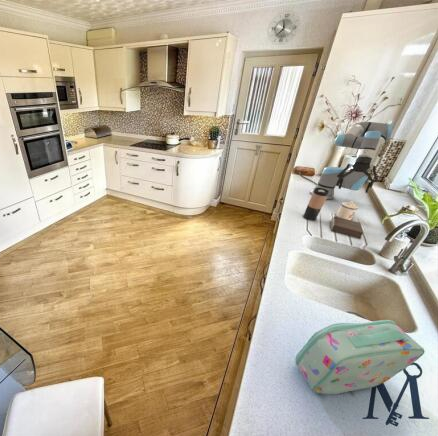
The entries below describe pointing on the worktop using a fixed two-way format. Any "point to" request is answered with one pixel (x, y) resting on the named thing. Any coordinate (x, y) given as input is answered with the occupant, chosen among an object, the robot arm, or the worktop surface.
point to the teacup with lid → (347, 210)
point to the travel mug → (315, 203)
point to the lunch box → (356, 356)
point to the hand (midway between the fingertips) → (352, 190)
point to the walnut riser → (346, 227)
